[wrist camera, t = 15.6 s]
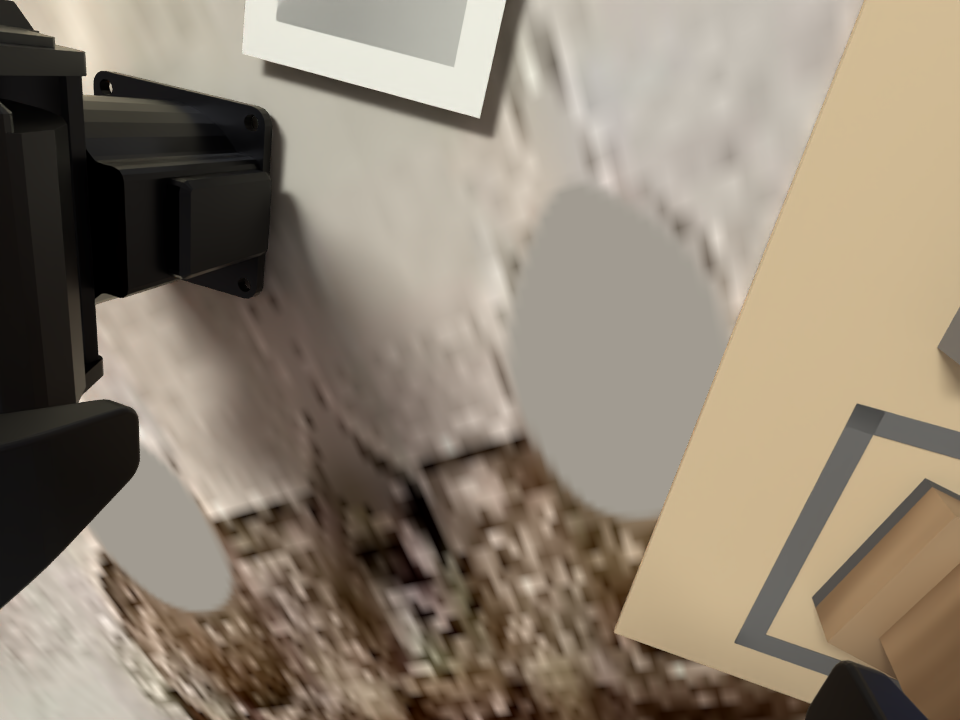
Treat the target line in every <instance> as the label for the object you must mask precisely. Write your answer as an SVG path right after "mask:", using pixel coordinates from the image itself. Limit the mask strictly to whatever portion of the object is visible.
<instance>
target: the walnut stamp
mask: <svg viewBox="0 0 960 720" xmlns="http://www.w3.org/2000/svg"><path fill="white" fill-rule="evenodd" d="M812 599H813V602H814V605H815V608H816V611H817V614H818V617H819V620H820V623H821V625H822V628H823V631H824V634H825V637H826V640H827V643H829V644H831V645H833V646H835V647H837V648H839V649H841V650H842V651H844V652H846V653H848V654H850V655H852V656H854V657H856V658H857V659H859V660H861V661H863V662H865V663H867V664H869V665H871V666H873V667H874V668H876V669H878V670H880V671H882V672H884V673H886V674H888V675H889V676H891V677H893V678H895V679H897V680H898V682H899V684H900V686H901V688H902V691H903V693H904V694H905V695H906V696H907V697H908V698H909V699H910V700H911V701H912V702H913V703H914V704H915V706H916V707H917V708H918V709H919V710H920V711H921V712H922V713H923V714H924V715H925V716H926V717H927V718H928V719H929V720H960V495H958V494H956V493H954V492H952V491H950V490H948V489H946V488H944V487H942V486H940V485H938V484H936V483H934V482H932V481H930V480H928V479H926V478H925V479H924V480H923V481H922V482H921V483H920V484H919V485H918V486H917V487H916V488H915V489H914V490H913V491H912V493H911V494H910V495H909V496H908V497H907V498H906V499H905V500H904V501H903V502H902V503H901V504H900V505H899V506H898V507H897V508H896V509H895V510H894V511H893V512H892V514H891V515H890V516H889V517H888V518H887V519H886V520H885V521H884V522H883V523H882V524H881V525H880V526H879V527H878V528H877V529H876V530H875V531H874V532H873V533H872V535H871V536H870V537H869V538H868V539H867V540H866V541H865V542H864V543H863V544H862V545H861V546H860V547H859V548H858V549H857V550H856V551H855V552H854V553H853V554H852V556H851V557H850V558H849V559H848V560H847V561H846V562H845V563H844V564H843V565H842V566H841V567H840V568H839V569H838V570H837V571H836V572H835V573H834V574H833V576H832V577H831V578H830V579H829V580H828V581H827V582H826V583H825V584H824V585H823V586H822V587H821V588H820V589H819V590H818V591H817V592H816V593H815V594H814V595H813V597H812Z"/></svg>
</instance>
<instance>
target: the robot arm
mask: <svg viewBox="0 0 960 720" xmlns="http://www.w3.org/2000/svg"><path fill="white" fill-rule="evenodd" d="M82 76H86V58H85V52H84V51H80V50H76V49H72V48H68V47H63V46H59V45H55V37H52V36H48V35H44V34H40V33H39V31H35V30H34V29H33V28H32V26H31V25H30V24H29V22H28V21H27V19H26V18H25V17H24V15H23V14H22V12H21V11H20V9H19V8H18V7H17V5H16V4H15V2H13V1H9V0H0V609H1V608H2V607H4V606H5V605H6V604H7V603H8V602H9V601H10V600H11V599H13V598H14V597H15V596H16V595H17V594H18V593H19V592H20V591H22V590H23V589H24V588H25V587H26V586H27V585H28V584H29V583H31V582H32V581H33V580H34V579H35V578H36V577H37V576H38V575H39V574H40V573H41V572H42V571H43V570H44V569H46V568H47V567H48V566H49V565H50V564H51V563H52V562H53V561H54V560H55V559H56V558H57V557H58V556H59V555H60V553H61V552H62V551H63V550H64V549H65V548H66V547H67V546H68V545H69V544H70V543H71V542H72V541H73V540H74V539H75V538H76V537H77V536H78V535H79V533H80V532H81V531H82V530H83V529H84V528H85V527H86V526H87V525H88V524H89V523H90V522H91V521H92V520H93V519H94V517H96V515H97V514H98V513H99V512H100V511H101V510H102V509H103V508H104V507H105V506H106V505H107V504H108V503H109V502H110V501H111V499H112V498H113V497H114V496H115V495H116V494H117V493H118V492H119V491H120V490H121V489H122V488H123V487H124V486H125V485H126V484H127V483H128V481H130V479H131V478H132V477H133V475H134V474H135V472H136V470H137V468H138V465H139V462H140V446H139V419H138V415H137V413H136V411H135V410H134V409H132V408H131V407H128V406H125V405H123V404H120V403H117V402H114V401H111V400H105V399H103V400H95V401H88V402H81V403H78V402H79V400H80V398H81V396H82V395H83V394H84V393H85V392H86V391H87V390H88V389H89V388H90V387H91V386H92V385H94V384H95V383H96V382H97V381H98V380H99V379H100V378H101V377H102V376H103V374H104V373H103V358H102V357H101V356H100V355H98V341H97V325H96V308H95V305H96V304H99V303H102V302H105V301H109V300H112V299H115V298H118V297H119V298H124V297H128V296H131V295H134V294H137V293H140V292H143V291H146V290H150V289H153V288H156V287H159V286H162V285H165V284H168V283H171V282H175V281H178V280H185V281H188V282H191V283H195V284H198V285H201V286H205V287H208V288H211V289H215V290H218V291H221V292H225V293H228V294H232V295H235V296H238V297H242V298H251V297H253V296H256V295H258V294H260V292H261V291H262V288H263V279H264V262H265V252H266V251H267V249H268V236H269V218H270V201H271V184H272V181H271V179H270V177H269V173H270V156H271V138H272V120H271V118H270V115H269V113H268V112H267V111H266V110H265V109H263V108H261V107H259V106H255V105H251V104H246V103H242V102H238V101H234V100H230V99H225V98H221V97H217V96H213V95H209V94H204V93H200V92H196V91H192V90H188V89H184V88H179V87H175V86H171V85H167V84H163V83H158V82H154V81H150V80H146V79H142V78H137V77H133V76H129V75H125V74H121V73H117V72H109V71H100V72H98V73H97V74H96V76H95V78H94V95H83V92H82ZM110 83H111V84H112V88H113V90H112V93H111V91H110V88H109V85H110ZM253 116H255V117H256V118H257V120H258V128H257V129H256V130H255V129H254V127H253V126H252V118H253ZM245 279H247V280H248V281H249V283H250V286H251V287H250V289H249V288H248V287H247V286H246V285H245ZM805 720H929V719H928V718H927V717H926V716H925V715H924V714H923V713H922V712H921V711H920V710H919V709H918V708H917V707H916V706H915V704H914V703H913V702H912V701H911V700H910V699H909V698H908V697H907V696H906V695H905V694H904V693H903V692H902V691H901V689H900V688H899V687H898V686H897V685H896V684H895V683H894V682H893V681H892V680H891V679H890V678H889V677H888V676H887V675H886V674H884V673H883V672H881V671H879V670H876V669H873V668H870V667H867V666H865V665H862V664H859V663H856V662H853V661H850V660H843V661H840V662H839V663H837V664H836V665H835V666H834V668H833V669H832V671H831V672H830V674H829V675H828V677H827V679H826V680H825V682H824V683H823V685H822V686H821V688H820V690H819V691H818V693H817V694H816V696H815V698H814V699H813V701H812V702H811V704H810V706H809V708H808V710H807V713H806V718H805Z"/></svg>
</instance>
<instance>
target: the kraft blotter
mask: <svg viewBox="0 0 960 720" xmlns="http://www.w3.org/2000/svg"><path fill="white" fill-rule="evenodd" d="M959 307H960V0H864V2H863V5H862V7H861V10H860V12H859V15H858V18H857V20H856V23H855V25H854V28H853V30H852V33H851V35H850V38H849V40H848V43H847V45H846V48H845V50H844V53H843V55H842V58H841V60H840V63H839V65H838V68H837V70H836V73H835V75H834V78H833V80H832V83H831V85H830V88H829V90H828V93H827V95H826V98H825V101H824V103H823V106H822V108H821V111H820V113H819V116H818V118H817V121H816V123H815V126H814V128H813V131H812V133H811V136H810V138H809V141H808V143H807V146H806V148H805V151H804V153H803V156H802V158H801V161H800V163H799V166H798V168H797V171H796V173H795V176H794V178H793V181H792V184H791V186H790V189H789V191H788V194H787V196H786V199H785V201H784V204H783V206H782V209H781V211H780V214H779V216H778V219H777V221H776V224H775V226H774V229H773V231H772V234H771V236H770V239H769V241H768V244H767V246H766V249H765V251H764V254H763V256H762V259H761V261H760V264H759V267H758V269H757V272H756V274H755V277H754V279H753V282H752V284H751V287H750V289H749V292H748V294H747V297H746V299H745V302H744V304H743V307H742V309H741V312H740V314H739V317H738V319H737V322H736V324H735V327H734V329H733V332H732V334H731V337H730V339H729V342H728V344H727V347H726V350H725V352H724V355H723V357H722V360H721V362H720V365H719V367H718V370H717V372H716V375H715V377H714V380H713V382H712V385H711V387H710V390H709V392H708V395H707V397H706V400H705V402H704V405H703V408H702V410H701V412H700V415H699V417H698V420H697V423H696V425H695V427H694V430H693V433H692V435H691V438H690V440H689V443H688V445H687V448H686V450H685V453H684V455H683V458H682V460H681V463H680V465H679V468H678V470H677V473H676V475H675V478H674V480H673V483H672V486H671V488H670V491H669V493H668V496H667V498H666V500H665V503H664V506H663V508H662V510H661V513H660V516H659V518H658V521H657V523H656V526H655V528H654V531H653V533H652V536H651V538H650V541H649V543H648V546H647V548H646V551H645V553H644V556H643V558H642V561H641V563H640V566H639V568H638V571H637V573H636V576H635V578H634V581H633V583H632V586H631V588H630V591H629V593H628V596H627V599H626V601H625V604H624V606H623V609H622V611H621V614H620V616H619V619H618V621H617V624H616V626H615V629H614V633H616V634H619V635H622V636H624V637H627V638H630V639H633V640H635V641H638V642H641V643H644V644H647V645H649V646H652V647H655V648H658V649H661V650H663V651H666V652H669V653H672V654H674V655H677V656H680V657H683V658H686V659H688V660H691V661H694V662H697V663H699V664H702V665H705V666H708V667H711V668H713V669H716V670H719V671H722V672H724V673H727V674H730V675H733V676H736V677H738V678H741V679H744V680H747V681H750V682H752V683H755V684H758V685H761V686H763V687H766V688H769V689H772V690H775V691H777V692H780V693H783V694H786V695H788V696H791V697H794V698H797V699H800V700H802V701H805V702H808V703H811V702H812V701H813V699H814V698H815V696H816V694H817V693H818V691H819V690H820V688H821V686H822V685H823V683H824V682H825V680H826V679H827V677H828V675H829V674H830V672H831V671H832V669H833V668H834V666H835V665H836V664H837V663H839V662H840V661H843V660H850V661H853V662H856V663H859V664H862V665H865V666H867V667H870V668H873V669H876V668H874V667H873V666H871V665H869V664H867V663H865V662H863V661H861V660H859V659H857V658H856V657H854V656H852V655H850V654H848V653H846V652H844V651H842V650H841V649H839V648H837V647H835V646H833V645H831V644H829V643H827V640H826V637H825V634H824V631H823V628H822V625H821V623H820V620H819V617H818V614H817V611H816V608H815V605H814V602H813V599H812V597H813V595H814V594H815V593H816V592H817V591H818V590H819V589H820V588H821V587H822V586H823V585H824V584H825V583H826V582H827V581H828V580H829V579H830V578H831V577H832V576H833V574H834V573H835V572H836V571H837V570H838V569H839V568H840V567H841V566H842V565H843V564H844V563H845V562H846V561H847V560H848V559H849V558H850V557H851V556H852V554H853V553H854V552H855V551H856V550H857V549H858V548H859V547H860V546H861V545H862V544H863V543H864V542H865V541H866V540H867V539H868V538H869V537H870V536H871V535H872V533H873V532H874V531H875V530H876V529H877V528H878V527H879V526H880V525H881V524H882V523H883V522H884V521H885V520H886V519H887V518H888V517H889V516H890V515H891V514H892V512H893V511H894V510H895V509H896V508H897V507H898V506H899V505H900V504H901V503H902V502H903V501H904V500H905V499H906V498H907V497H908V496H909V495H910V494H911V493H912V491H913V490H914V489H915V488H916V487H917V486H918V485H919V484H920V483H921V482H922V481H923V480H924V479H925V478H926V479H928V480H930V481H932V482H934V483H936V484H938V485H940V486H942V487H944V488H946V489H948V490H950V491H952V492H954V493H956V494H958V495H960V365H959V364H958V363H957V362H956V361H954V360H953V359H952V358H950V357H949V356H948V355H946V354H945V353H944V352H942V351H941V350H940V349H939V348H937V347H938V345H939V343H940V341H941V339H942V338H943V336H944V334H945V332H946V330H947V329H948V327H949V325H950V323H951V321H952V320H953V318H954V316H955V314H956V312H957V310H958V309H959ZM876 670H878V669H876ZM879 671H880V670H879ZM881 672H882V671H881ZM883 673H884V672H883ZM884 674H886V673H884ZM886 675H887V676H888V677H889V678H890V679H891V680H892V681H893V682H894V683H895V684H896V685H897V686H898V687H899V688H900V689H901V691H902V688H901V686H900V684H899V682H898V680H897V679H895V678H893V677H891V676H889V675H888V674H886ZM902 692H903V691H902Z"/></svg>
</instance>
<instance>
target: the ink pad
mask: <svg viewBox="0 0 960 720" xmlns="http://www.w3.org/2000/svg"><path fill="white" fill-rule="evenodd" d="M937 348H939V349H940V350H941V351H942V352H944V353H945V354H946V355H948V356H949V357H950V358H952V359H953V360H954V361H956V362H957V363H958V364H959V365H960V307H959V309H958V310H957V312H956V314H955V316H954V318H953V320H952V321H951V323H950V325H949V327H948V329H947V330H946V332H945V334H944V336H943V338H942V339H941V341H940V343H939V345H938V347H937Z"/></svg>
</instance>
